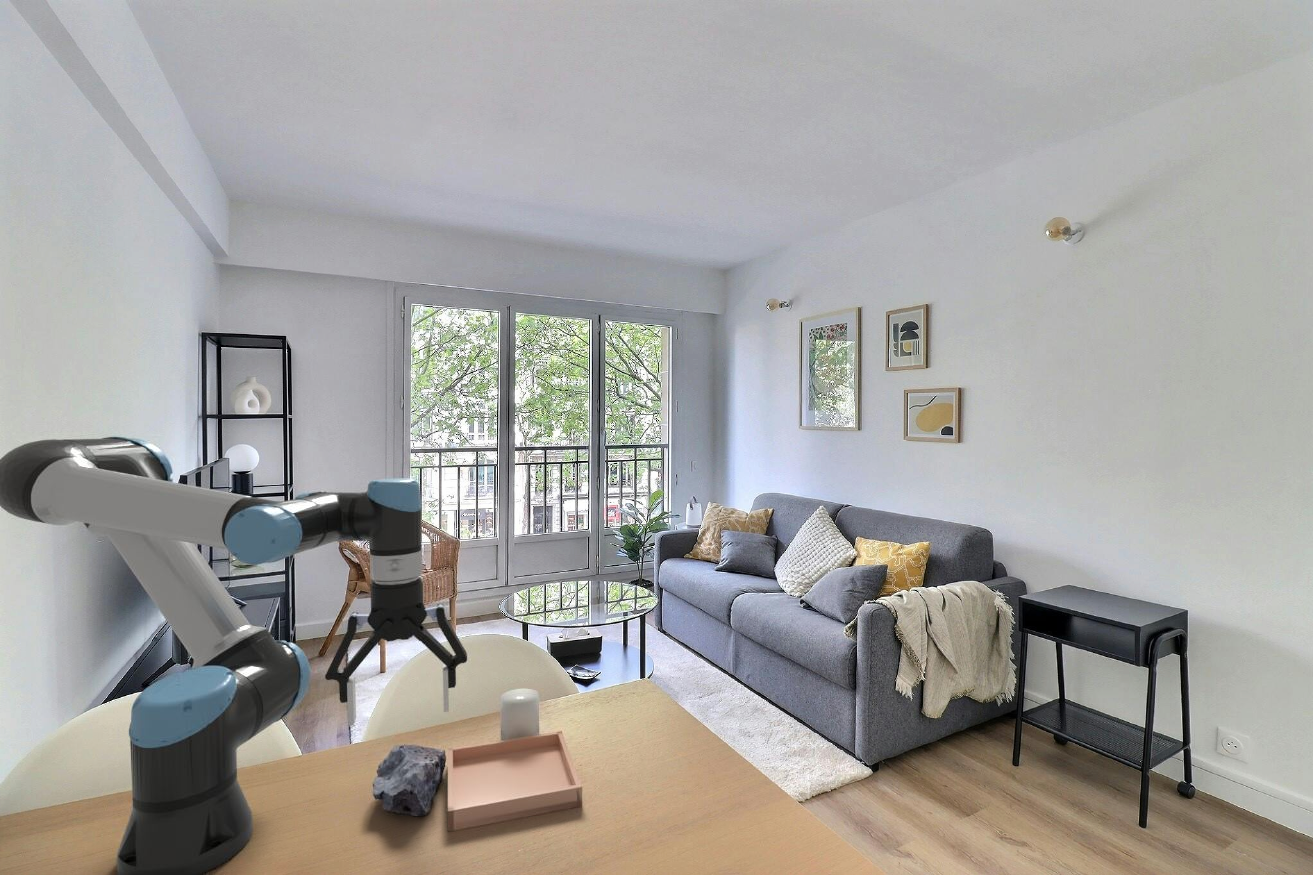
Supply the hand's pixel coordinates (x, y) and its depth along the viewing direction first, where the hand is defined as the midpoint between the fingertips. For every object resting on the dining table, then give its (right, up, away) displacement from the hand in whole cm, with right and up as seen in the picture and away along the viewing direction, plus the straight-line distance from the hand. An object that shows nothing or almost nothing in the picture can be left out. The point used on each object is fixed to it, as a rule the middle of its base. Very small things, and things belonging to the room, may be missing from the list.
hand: (400, 714), depth 100 cm
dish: (+16, -13, +5) cm, 22 cm away
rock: (+1, -14, +1) cm, 14 cm away
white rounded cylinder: (+14, -13, +20) cm, 28 cm away
